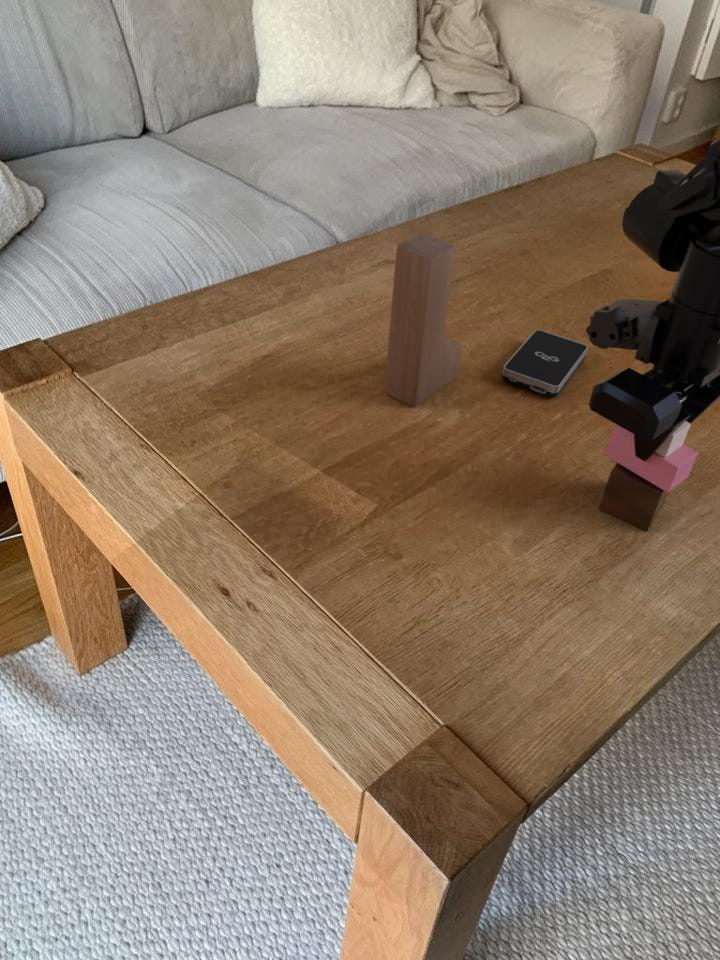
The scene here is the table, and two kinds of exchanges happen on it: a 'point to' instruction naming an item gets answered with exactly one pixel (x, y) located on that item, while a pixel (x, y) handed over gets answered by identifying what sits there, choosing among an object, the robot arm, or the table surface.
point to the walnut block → (632, 498)
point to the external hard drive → (544, 363)
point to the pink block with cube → (655, 457)
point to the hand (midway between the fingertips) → (652, 449)
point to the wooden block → (421, 321)
